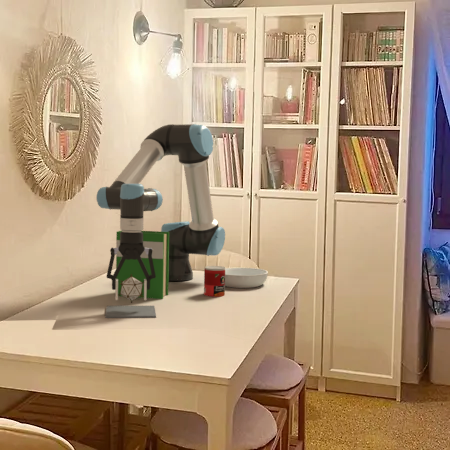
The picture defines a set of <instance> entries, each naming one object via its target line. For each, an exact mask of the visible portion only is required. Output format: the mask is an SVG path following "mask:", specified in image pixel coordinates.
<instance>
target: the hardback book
mask: <svg viewBox="0 0 450 450" xmlns="http://www.w3.org/2000/svg"><path fill="white" fill-rule="evenodd" d="M121 231H122V230H121V229H120V230H118V231H116V243H115V244H116V247H115V248H118V247H119V246H120V232H121ZM141 232H143V246H144V248H152V260H153V265H154V270H155V275H156V277H155V278H153V279H151V280H150V289H149V290H147V293H146V299H157V300H163V299H164V297H165V296H168V295H169V280H168V279H169V232H161V231H157V230H156V231H155V230H154V231H153V230H141ZM115 256H116V259H115V267H116V268H117V266H118V264H119V262H120V260H121V258H122V254H121V253H120V252H119V251H117V254H116V255H115ZM140 257H141V259H142V261H143V263H144V265H145V267H146V269H147V272H148V274H149V275H151V269H150V264H149V259H148V255H147V254H146V252H145V251H144V252H143V253H142V254H141V256H140ZM131 274H132V277H134V278H136V279H137V280H139V281H141V282H144V279H146V277H145V275H144V273H143V270H142V268H141V266H140V264H139V262H138V260H137V259H136V260H133V259H130V260H127V259H126V260H125V262H124V263H123V265H122V267H121V269H120V271H119V273H118V276H117V278H116V279H118V294H120V292H121V286H122V285H121V284H120V283H122V282H121V281H125V280H126V279H128V278H129V277H131ZM142 293H143V294H141V295H142V296H143V297H141V296H139V297H138V298H142V299H144V283H143V286H142ZM118 297H123V296H122V295H119V296H118Z"/></svg>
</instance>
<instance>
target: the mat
mask: <svg viewBox="0 0 450 450" xmlns="http://www.w3.org/2000/svg"><path fill="white" fill-rule="evenodd" d="M104 317H105V318H104V319H136V318H137V319H138V318H139V319H140V318H141V319H145V318H146V319H153V318H154V319H155V318H157V314H156V307H155V305H106V309H105V315H104Z"/></svg>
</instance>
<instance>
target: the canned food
mask: <svg viewBox="0 0 450 450" xmlns="http://www.w3.org/2000/svg"><path fill="white" fill-rule="evenodd" d="M225 268H226V267H225V266H221V265H207V266H204V275H203V279H204V280H203V281H204V282H203V287H204V288H203V295H204V296H206V297H209V298H211V297H214V298H220V297H224V296H225V295H226V286H225Z"/></svg>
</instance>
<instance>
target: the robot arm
mask: <svg viewBox="0 0 450 450" xmlns="http://www.w3.org/2000/svg"><path fill="white" fill-rule="evenodd" d="M213 139H214V138H213V135H212V132H211V131H210V129H209V128H208V127H207V126H205V125H203V124H196V123H194V124H192V123H191V124H167V125H163V126H161V127H158V128H157V129H155V130H154V131H152V132H151V133H149V135H147V136H146V137H145V138H144V139H143V140H142V142H141V143H140V145H139V146H140V147H139V150H138V151H137V153H136V154H135V155H134V156H133V157H132V158H131V159H130V161H129V162H128V164H127V165H126V166H125V167H124V169H122V171H121V172H120V174H119V175H117V177H116V179H115V180H114V181H113V183H112V184H111V185H110V186H103V187H102V186H101V187H100V188H99V189H98V190H97V192H96V202H97V205H98V207H99V208H101V209H108V210H118V211H119V210H120V217H119V220H120V221H119V227H120V228H119V229H120V231H121V230H122V231H121V232H120V246H119V247H118V248H116V247H111V248H110V250H109V251H110V259H109V263H108V267H107V272H106V278H107V279H110V280H111V289H112V290H113V291H115V298H114V299H115V301H119V296H118V279H116V278H117V276H118V273H119V271H120V269H121V267H122V265H123V263H124V262H125V260H126V259H127V260H130V259H133V260H136V259H137V260H138V262H139V264H140V266H141V268H142V270H143V273H144V275H145V277H146V279H144V298H143V300H144V301H147V298H146V293H147V290H149V289H150V280H151V279H153V278H155V277H156V275H155V270H154V265H153V260H152V248H144V246H143V232H141V231H144V212H153V211H156V210H158V209H159V208H161V206H162V204H163V198H164V197H163V195H162V193H161V192H160V191H159V190H158V189H157V188H152V187H151V188H145V187H144V185H143V184H142V183H141V182H142V181H143V180H144V179H145V177H146V175H147V174H149V172H150V170H152V168H153V166H154V165H155V164H156V162H159V161H161V160H162V159H163V158H164V157H165V156H177V157H178V163H180V164H181V165H182V166H183V168H184V169H183V170H184V178H185V183H186V184H185V185H186V190H187V195H188V202H189V210H190V216H191V221H187V220H185V221H177V222H176V221H175V222H167V223H164V224H162V225H161V228H160V232H169V279H168V282H170V281H171V282H172V281H173V282H175V281H176V282H177V281H178V282H179V281H181V282H182V281H189V280H192V279H193V278H194V272H193V269H192V265H191V261H190V255H199V256H200V255H201V256H208V257H209V256H215V257H216V256H218V255H219V254H220V253H221V252H222V250H223V248H224V245H225V240H226V231H225V228H224V227H223V226H219V221H218V219H217V218H215V217H214V213H213V206H212V205H213V204H212V199H211V197H212V196H211V191H210V190H211V189H210V184H209V177H208V176H209V175H208V167H207V161H208V160H209V159H210V155H212V152H213V150H214V147H213V146H214V140H213ZM117 251H119V252H120V253H121V254H122V258H121V260H120V262H119V264H118V266H117V268H116V269H115V271H114V273H113V274H112V271H113V265H114V262H115V256H116V254H117ZM144 251H145V252H146V254H147V255H148V259H149V264H150V269H151V275H149V274H148V272H147V269H146V267H145V265H144V263H143V261H142V259H141V257H140V256H141V254H142V253H143V252H144Z"/></svg>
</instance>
